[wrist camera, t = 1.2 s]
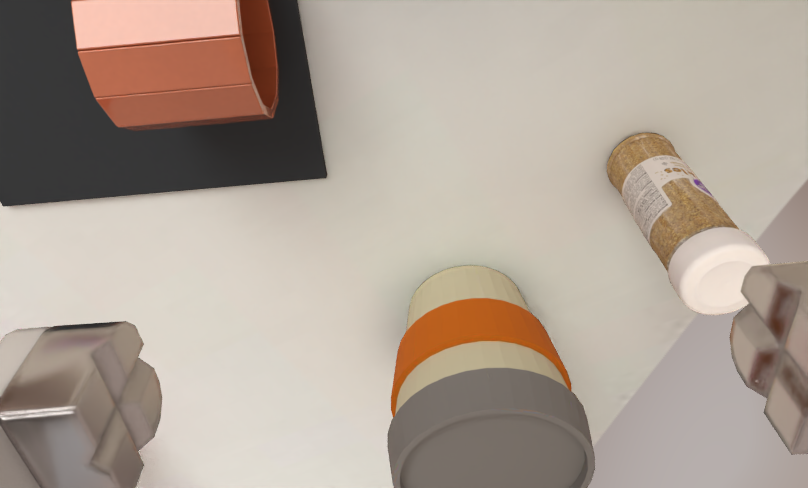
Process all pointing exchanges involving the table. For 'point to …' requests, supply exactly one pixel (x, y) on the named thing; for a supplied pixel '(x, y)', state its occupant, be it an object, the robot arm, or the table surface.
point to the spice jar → (684, 225)
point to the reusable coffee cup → (483, 392)
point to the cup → (179, 60)
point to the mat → (127, 149)
